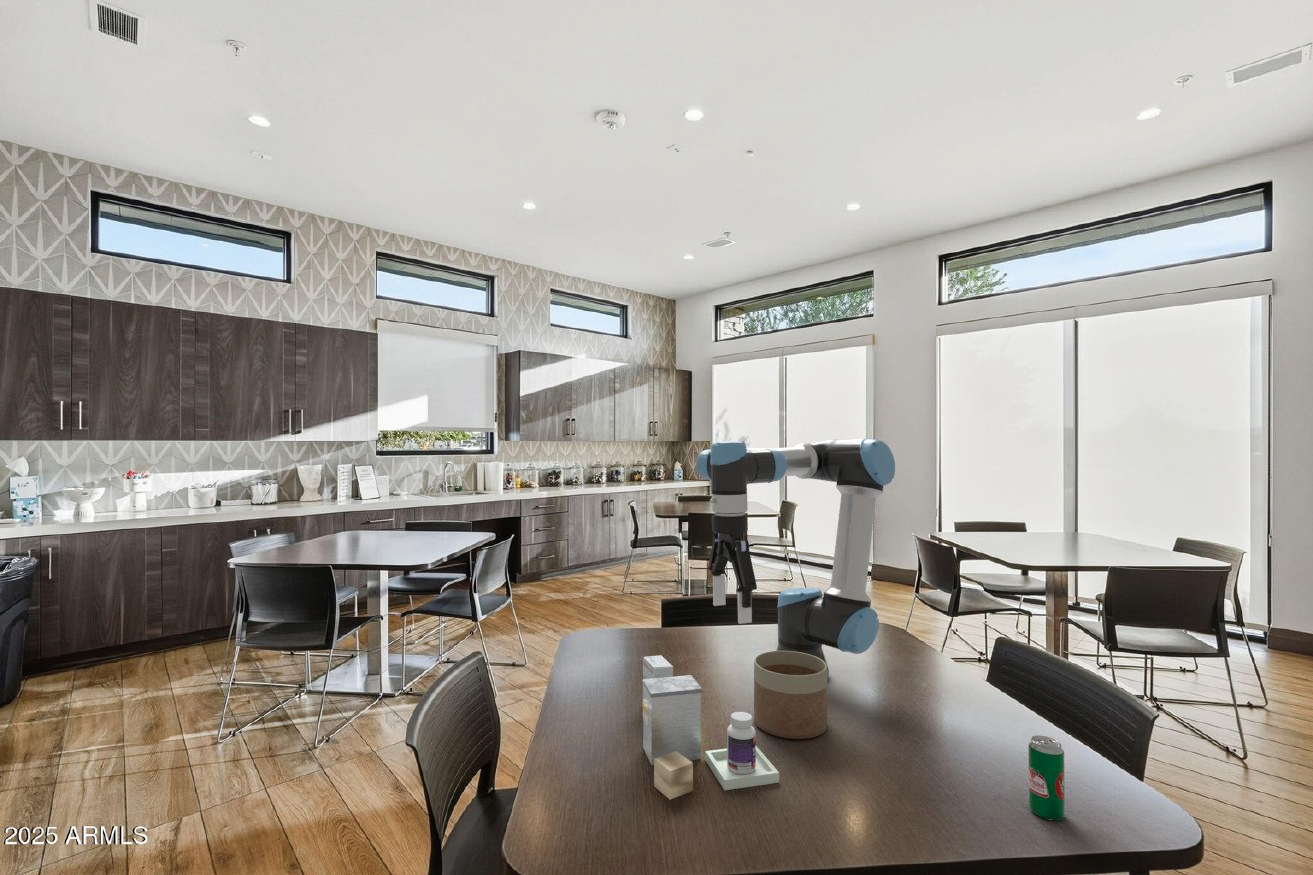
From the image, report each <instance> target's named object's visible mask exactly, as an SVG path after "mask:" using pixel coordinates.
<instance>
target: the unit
mask: <svg viewBox="0 0 1313 875" xmlns="http://www.w3.org/2000/svg"><path fill="white" fill-rule="evenodd" d="M641 682H642V686H643V685H644V699H643V698H642V718H643V719H642V720H643V721H642V722H643V723H642V724H643V725H642V726H643V728H642V731H643V733H642V735H643V736H642V738H643V742H642V743H643V744H642V745H643V747H642V748H643V750H644V752H645V755H646V757H647V759H648V761H649V763H650V765H651V766H654V759H655V758H658V757H661V756H664V755H667V754H670V753H673V752H676V751H677V752H679V753H680V754H681V755H683V756H684V757H685V758H687V759H688V760H690V761H696V760H701V759H702V757H701V756H702V747H701V746H702V693H703V688H702V687H701V685H700V684H699V682H698V681H697V680H696V679H695V677H693V675H692V674H688V675H678V676H677V675H676V676H675V675H673V677H663V678H652V679H643V678H642V681H641Z"/></svg>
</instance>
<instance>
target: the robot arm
mask: <svg viewBox="0 0 1313 875" xmlns="http://www.w3.org/2000/svg"><path fill="white" fill-rule="evenodd" d="M894 457H895V456H894V455H893V452H892V450H891V448H890V447H889V446H888V444H887V443H886V442H884V441H883V440H880V439H874V438H873V439H870V438H859V439H858V438H857V439H830V440H829V439H828V440H821V441H816V442H815V441H814V442H809V443H799V444H797V445H795V446H794V447H773V448H772V447H770V448H769V447H763V448H761V447H760V448H759V447H758V448H747V444H746V443H745V442H744V441H740V440H739V441H734V440H733V441H714V442H713V443H712V445H711V448H710V449H704V450H702V451H701V452H700V453H699V454H698V456H697V458H696V465H695V466H696V467H695V468H696V472H697V474H698V475H699V476H700V477H701V478H702V479H703V480H709V481H710V482H711V483H710V484H711V485H710V486H711V498H710V499H709V503H710V504H711V511H712V513H713V514H712V516H711V527H712V528H711V530H712V532H713V533H712V544H711V550H710V556H709V560H708V567H707V569H708V571H710V572H711V576H712V600H713V601H712V605H713V606H714V607H717V606H726V604H727V601H726V600H727V598H726V595H727V594H726V574H727V572H726V570H725V569H726V567H727V564H728V563H730V564H731V566H732V569H733V572H734V576H735V579H736V582H737V586H738V587H737V588H736V594H737V623H738V624H739V625H740V624H741V625H742V624H749V623H753V620H752V619H753V618H752V617H753V616H752V615H753V610H752V603H753V602H752V591H755V590H758V589H757V588H758V586H757V581H756V577H755V572H754V568H753V562H752V557H751V553H750V542H749V540H742V534H745V533H747V531H748V529H749V528H748V527H749V525H748V516H747V514H746V513H747V512H748V485H751V484H752V485H753V484H763V483H767V484H771V483H773V482H777V481H780V480H781V479H782V478H784V477H791V476H792V477H796V478H798V479H803V480H804V479H805V480H806V479H808V480H809V479H810V480H820V481H824V482H825V481H826V482H833V483H836V485H835V486H836V489H837V490H838V492H839V493H840V494H841V495H840V504H839V511H838V521H837V529H836V539H835V547H834V555H833V564H832V572H831V581H830V586H829V587H828V588H826V589H825V590H824V591H822V590H821V589H820V588H815V587H796V588H789V589H785V590H781V592H780V593H779V594H778V597H777V598H778V599H777V647H776V649H775V651H795V652H802V653H806V654H810V655H813V656H816V657H818V658H820V659H821V660H823V661H824V662H825V663H826V665H827V682H828V681H829V678H830V670H829V666H828V663H827V662H828V661H827V660H826V656H825V654H824V651H823V646H826V647H830V648H833V649H837V650H838V651H840V652H844V653H850V654H855V655H860V654H863V653H865V652H867V651H868V650H869V649H870V647H871V646H872V645H873V644H874V642H875V640H876V638H877V635H878V632H879V627H880V621H879V620H880V619H879V617H878V616H879V615H878V614H877V612H876V610H875V609H873V608H872V607H871V605H872V599H871V598H870V597H869V595H868V594H867V592H866V591H867V590H866V589H867V582H868V573H869V565H870V556H871V547H872V538H873V528H874V526H873V525H874V520H875V519H874V518H875V510H876V499H877V498H878V497H879V496H881V495H882V494H883V493H884V486H887V485H889V484H890V483H891V482H892V481H893V480H894V477H895V474H896V463H895V458H894Z"/></svg>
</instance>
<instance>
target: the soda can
mask: <svg viewBox="0 0 1313 875" xmlns="http://www.w3.org/2000/svg"><path fill="white" fill-rule="evenodd" d="M1027 746H1028V750H1027V751H1028V807H1029V808H1030V810H1031V812H1033V813H1034V814H1035V816H1037V815H1038V816H1037V817H1039V816H1040V817H1039V818H1041V817H1042V819H1044V818H1045V819H1044V820H1047V819H1052V820H1058V821H1061V820H1062V819H1063V818H1065V815H1066V813H1065V811H1066V804H1065V802H1066V801H1065V800H1066V798H1065V796H1066V795H1065V792H1066V791H1065V790H1066V789H1065V788H1066V787H1065V750H1064V749H1063V748H1062V743H1061V742H1060V741H1058V740H1057V739H1055V738H1052V737H1049V736H1046V735H1033V736H1031V737H1030V740H1029V742H1028V744H1027ZM1060 819H1061V820H1060Z"/></svg>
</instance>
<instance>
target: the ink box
mask: <svg viewBox="0 0 1313 875" xmlns="http://www.w3.org/2000/svg"><path fill="white" fill-rule="evenodd" d="M663 677H674V665H672V664H671V663H670V662H669V661H668V660H667V659H666V658H665V657H663V655H662V654H660V655H649V656H648V655H647V656H644V657H642V679H652V678H663ZM643 699H644V685H643V684H642V700H643Z"/></svg>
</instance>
